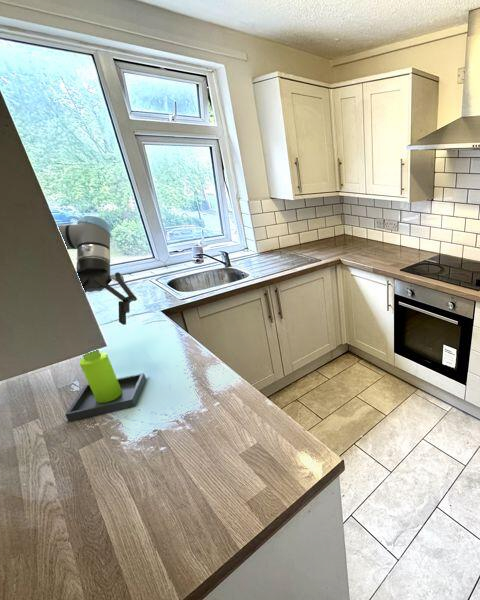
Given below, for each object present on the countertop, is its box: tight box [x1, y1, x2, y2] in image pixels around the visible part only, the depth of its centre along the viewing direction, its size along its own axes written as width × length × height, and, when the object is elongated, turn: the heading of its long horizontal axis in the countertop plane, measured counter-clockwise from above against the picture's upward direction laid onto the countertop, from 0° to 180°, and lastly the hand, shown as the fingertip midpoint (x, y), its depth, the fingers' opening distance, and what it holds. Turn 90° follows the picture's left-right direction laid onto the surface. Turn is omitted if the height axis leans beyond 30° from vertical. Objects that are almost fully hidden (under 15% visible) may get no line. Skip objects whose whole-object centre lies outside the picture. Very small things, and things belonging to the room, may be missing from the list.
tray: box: [64, 372, 147, 422], centre depth 95 cm, size 15×14×2 cm
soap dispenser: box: [79, 350, 122, 403], centre depth 92 cm, size 6×7×20 cm
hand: (93, 327), depth 94 cm, fingers open, 13 cm apart
